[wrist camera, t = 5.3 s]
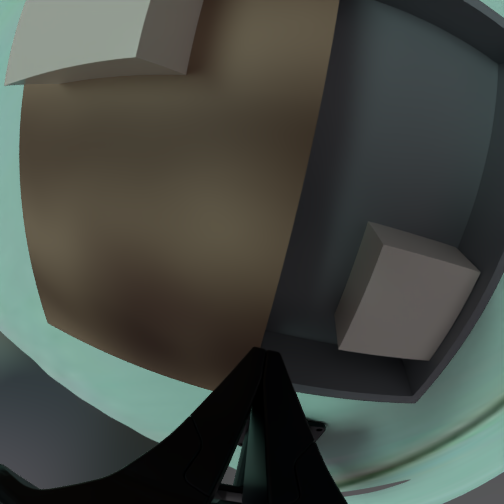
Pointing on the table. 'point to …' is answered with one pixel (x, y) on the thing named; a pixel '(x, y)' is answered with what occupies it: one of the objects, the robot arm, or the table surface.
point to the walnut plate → (177, 189)
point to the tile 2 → (402, 294)
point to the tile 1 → (101, 39)
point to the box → (395, 181)
